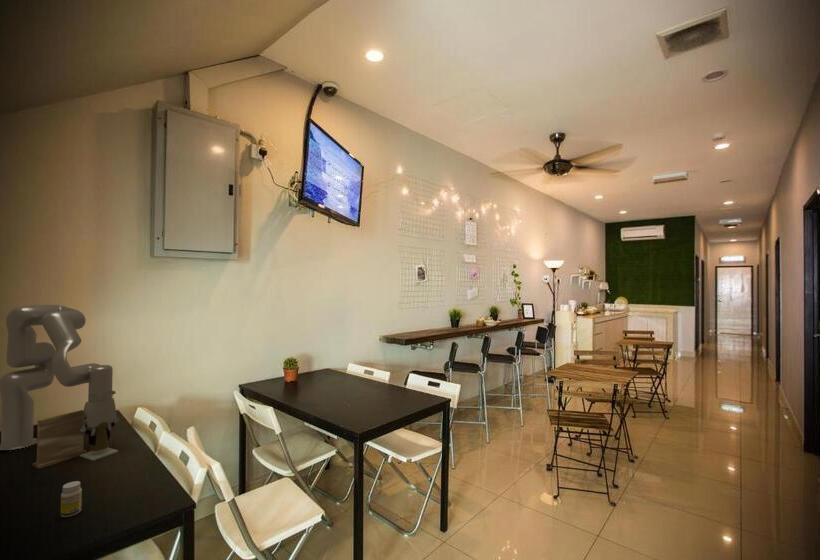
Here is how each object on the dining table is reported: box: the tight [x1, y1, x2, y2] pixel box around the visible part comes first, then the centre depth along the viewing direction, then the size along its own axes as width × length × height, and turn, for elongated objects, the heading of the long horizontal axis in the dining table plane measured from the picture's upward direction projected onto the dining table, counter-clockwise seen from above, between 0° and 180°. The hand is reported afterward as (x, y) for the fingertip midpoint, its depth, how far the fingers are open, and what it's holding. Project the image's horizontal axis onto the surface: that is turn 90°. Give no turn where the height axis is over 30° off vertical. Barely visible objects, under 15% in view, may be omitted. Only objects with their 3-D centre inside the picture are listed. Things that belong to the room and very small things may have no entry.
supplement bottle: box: [60, 480, 83, 518], centre depth 115 cm, size 5×5×8 cm
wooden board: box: [32, 409, 88, 469], centre depth 151 cm, size 5×15×17 cm, turn 155°
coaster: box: [79, 447, 119, 462], centre depth 156 cm, size 9×9×1 cm
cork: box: [89, 422, 110, 452], centre depth 156 cm, size 6×6×11 cm
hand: (99, 442), depth 156 cm, fingers closed on cork, 4 cm apart
